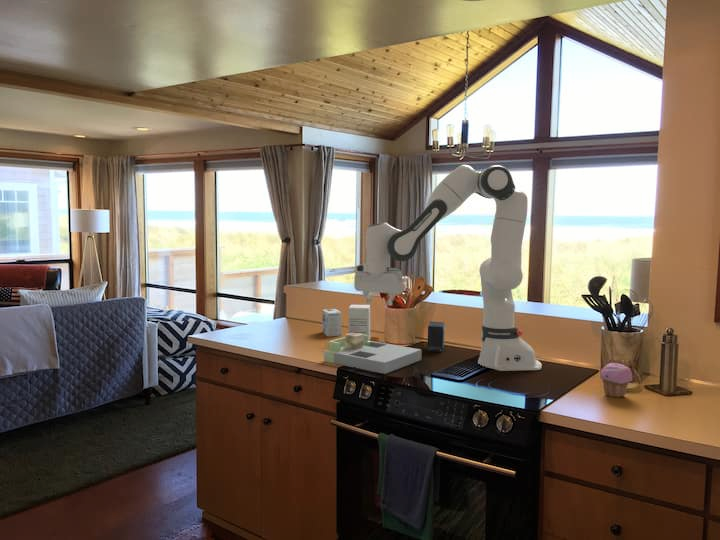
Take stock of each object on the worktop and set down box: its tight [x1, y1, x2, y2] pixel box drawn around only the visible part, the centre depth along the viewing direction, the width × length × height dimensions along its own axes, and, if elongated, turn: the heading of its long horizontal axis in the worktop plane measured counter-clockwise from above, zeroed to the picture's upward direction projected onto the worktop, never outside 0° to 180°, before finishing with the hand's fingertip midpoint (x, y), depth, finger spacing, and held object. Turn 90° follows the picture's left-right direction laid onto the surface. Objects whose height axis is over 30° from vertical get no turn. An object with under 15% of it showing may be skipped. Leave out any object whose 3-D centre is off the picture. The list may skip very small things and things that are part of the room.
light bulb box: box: [321, 308, 343, 337], centre depth 263 cm, size 11×7×11 cm, turn 17°
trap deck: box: [323, 334, 422, 375], centre depth 215 cm, size 28×24×7 cm
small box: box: [426, 320, 446, 353], centre depth 234 cm, size 11×6×10 cm, turn 168°
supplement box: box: [348, 304, 371, 341], centre depth 250 cm, size 9×9×15 cm
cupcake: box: [599, 362, 633, 398], centre depth 174 cm, size 9×9×10 cm
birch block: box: [344, 332, 363, 349], centre depth 219 cm, size 5×5×5 cm
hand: (378, 304), depth 212 cm, fingers open, 8 cm apart
